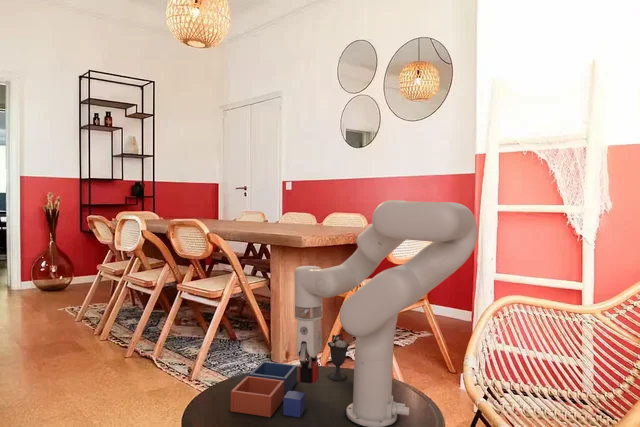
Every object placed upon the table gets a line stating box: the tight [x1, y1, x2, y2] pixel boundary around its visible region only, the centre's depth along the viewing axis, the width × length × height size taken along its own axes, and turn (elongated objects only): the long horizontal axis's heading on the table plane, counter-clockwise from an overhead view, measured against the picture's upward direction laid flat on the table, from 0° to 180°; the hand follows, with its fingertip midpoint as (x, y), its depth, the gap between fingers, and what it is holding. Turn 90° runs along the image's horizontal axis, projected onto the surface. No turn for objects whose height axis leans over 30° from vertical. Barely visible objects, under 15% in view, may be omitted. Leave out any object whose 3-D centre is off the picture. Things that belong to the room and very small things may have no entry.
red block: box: [298, 361, 320, 384], centre depth 127 cm, size 4×4×4 cm
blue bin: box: [248, 360, 298, 396], centre depth 133 cm, size 11×11×5 cm
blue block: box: [282, 390, 306, 418], centre depth 118 cm, size 4×4×4 cm
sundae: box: [327, 328, 351, 381], centre depth 141 cm, size 7×7×15 cm
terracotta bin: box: [230, 375, 284, 418], centre depth 121 cm, size 11×11×5 cm
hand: (308, 378), depth 127 cm, fingers closed on red block, 4 cm apart
